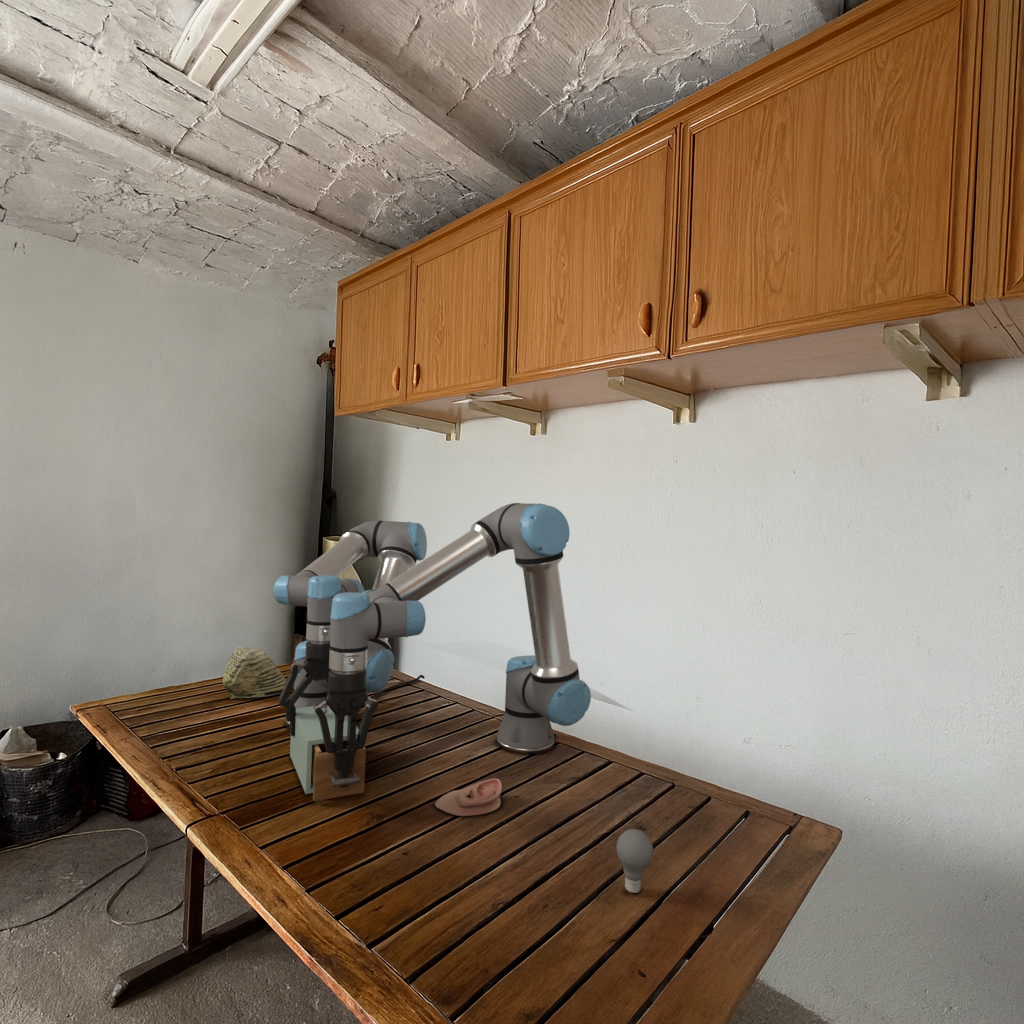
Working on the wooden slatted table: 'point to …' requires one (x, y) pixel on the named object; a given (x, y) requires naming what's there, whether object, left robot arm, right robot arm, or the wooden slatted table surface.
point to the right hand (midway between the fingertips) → (343, 784)
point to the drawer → (335, 774)
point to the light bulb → (634, 857)
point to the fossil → (252, 674)
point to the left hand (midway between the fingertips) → (318, 730)
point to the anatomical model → (472, 799)
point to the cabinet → (310, 741)
